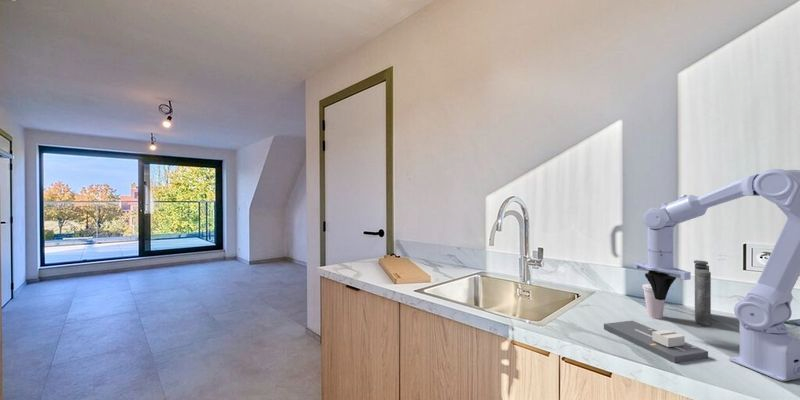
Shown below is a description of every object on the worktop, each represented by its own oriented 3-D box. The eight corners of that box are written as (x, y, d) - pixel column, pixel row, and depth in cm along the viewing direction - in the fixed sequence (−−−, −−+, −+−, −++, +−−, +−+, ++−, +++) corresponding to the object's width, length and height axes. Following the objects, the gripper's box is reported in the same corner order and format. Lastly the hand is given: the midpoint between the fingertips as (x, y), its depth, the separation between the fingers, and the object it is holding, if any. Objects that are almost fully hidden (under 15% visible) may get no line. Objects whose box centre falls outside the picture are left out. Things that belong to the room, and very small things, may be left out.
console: (708, 357, 79) (708, 351, 78) (674, 362, 76) (674, 356, 76) (632, 325, 98) (632, 320, 98) (603, 328, 96) (603, 323, 96)
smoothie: (672, 321, 101) (672, 275, 101) (648, 319, 102) (648, 274, 102) (660, 313, 107) (660, 270, 107) (638, 312, 109) (638, 270, 108)
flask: (694, 324, 98) (693, 264, 98) (693, 311, 109) (693, 256, 109) (710, 327, 96) (710, 265, 96) (709, 313, 107) (709, 258, 106)
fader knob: (684, 344, 81) (684, 335, 81) (668, 347, 80) (668, 337, 80) (668, 338, 85) (668, 329, 85) (652, 340, 84) (652, 331, 84)
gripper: (625, 247, 99) (625, 292, 99) (675, 256, 85) (675, 309, 85) (644, 246, 100) (644, 291, 100) (697, 254, 86) (697, 306, 86)
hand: (660, 299), depth 93 cm, fingers closed
